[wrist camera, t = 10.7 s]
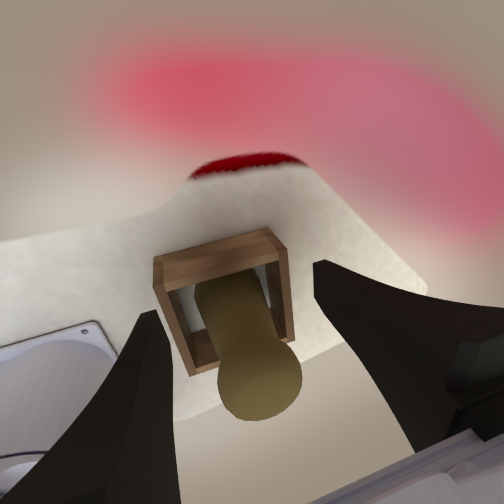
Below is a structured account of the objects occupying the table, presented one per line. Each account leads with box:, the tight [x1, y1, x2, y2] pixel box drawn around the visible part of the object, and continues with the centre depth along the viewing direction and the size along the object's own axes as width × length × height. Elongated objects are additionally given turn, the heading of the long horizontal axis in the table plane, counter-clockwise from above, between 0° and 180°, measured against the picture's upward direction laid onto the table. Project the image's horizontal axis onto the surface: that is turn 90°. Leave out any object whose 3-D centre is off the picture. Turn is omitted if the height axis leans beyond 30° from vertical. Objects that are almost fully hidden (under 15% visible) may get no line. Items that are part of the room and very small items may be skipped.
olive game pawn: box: [194, 268, 302, 421], centre depth 20 cm, size 6×6×11 cm
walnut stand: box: [153, 228, 295, 377], centre depth 23 cm, size 9×9×4 cm
